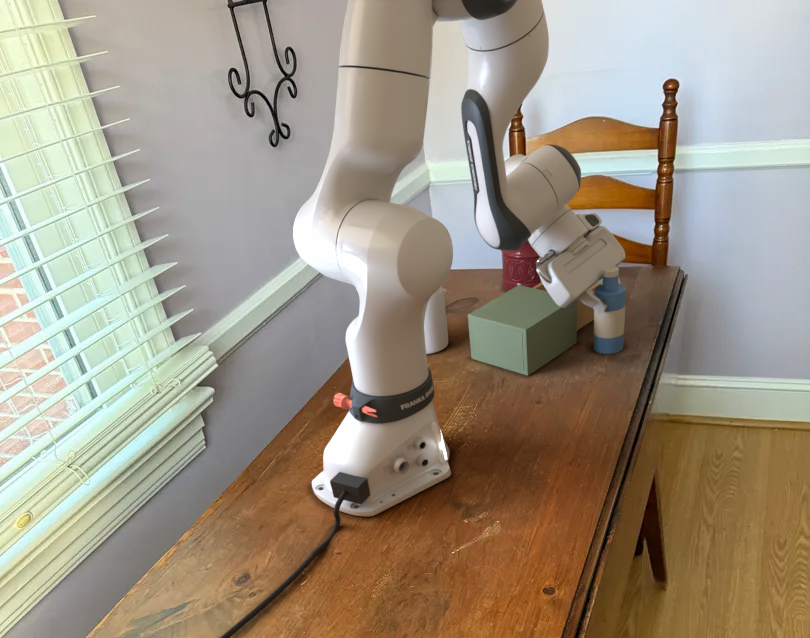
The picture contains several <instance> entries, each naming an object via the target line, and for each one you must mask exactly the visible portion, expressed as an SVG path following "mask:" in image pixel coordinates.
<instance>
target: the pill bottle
mask: <svg viewBox="0 0 810 638" xmlns="http://www.w3.org/2000/svg"><path fill="white" fill-rule="evenodd" d="M446 311H447V310H446V301H445V293H444V288H443V285H442V286H441V287H440V289H439V290H438V291H437V292H435V293H434V294H433V295H432V296H431V297H430V299H429V301H428V304H427V308H426V312H425V319H424V334H425V345H426V355H430V354H435V353H438V352H440V351H443V350H444V349H445V348H447V347H448V345H449V331H448V322H447V312H446Z"/></svg>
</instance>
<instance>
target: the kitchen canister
mask: <svg viewBox="0 0 810 638" xmlns="http://www.w3.org/2000/svg"><path fill="white" fill-rule="evenodd" d="M500 252H501V264H502V276H501V278H502V283H503V288H504V290H505V291H506V292H508V291H509V290H511V289H513V288H515V287H516V286H518V285H521V286H525V287H530V288H533V287H534V286H536V285H538V284H540V283H541V279H540V275H539V274H538V273H537V271H536V269H537V268H536V261H537V260H538V259H539V258H540V256H539V255H538V254H537V252H536V251H535V250H534V249H533V248H532V246H531V245H530V243H529V241H528V240H527V241H526V242H525V243H524V244H523V245H522V246H521V247H520V248H519V249H518V250H500Z"/></svg>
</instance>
